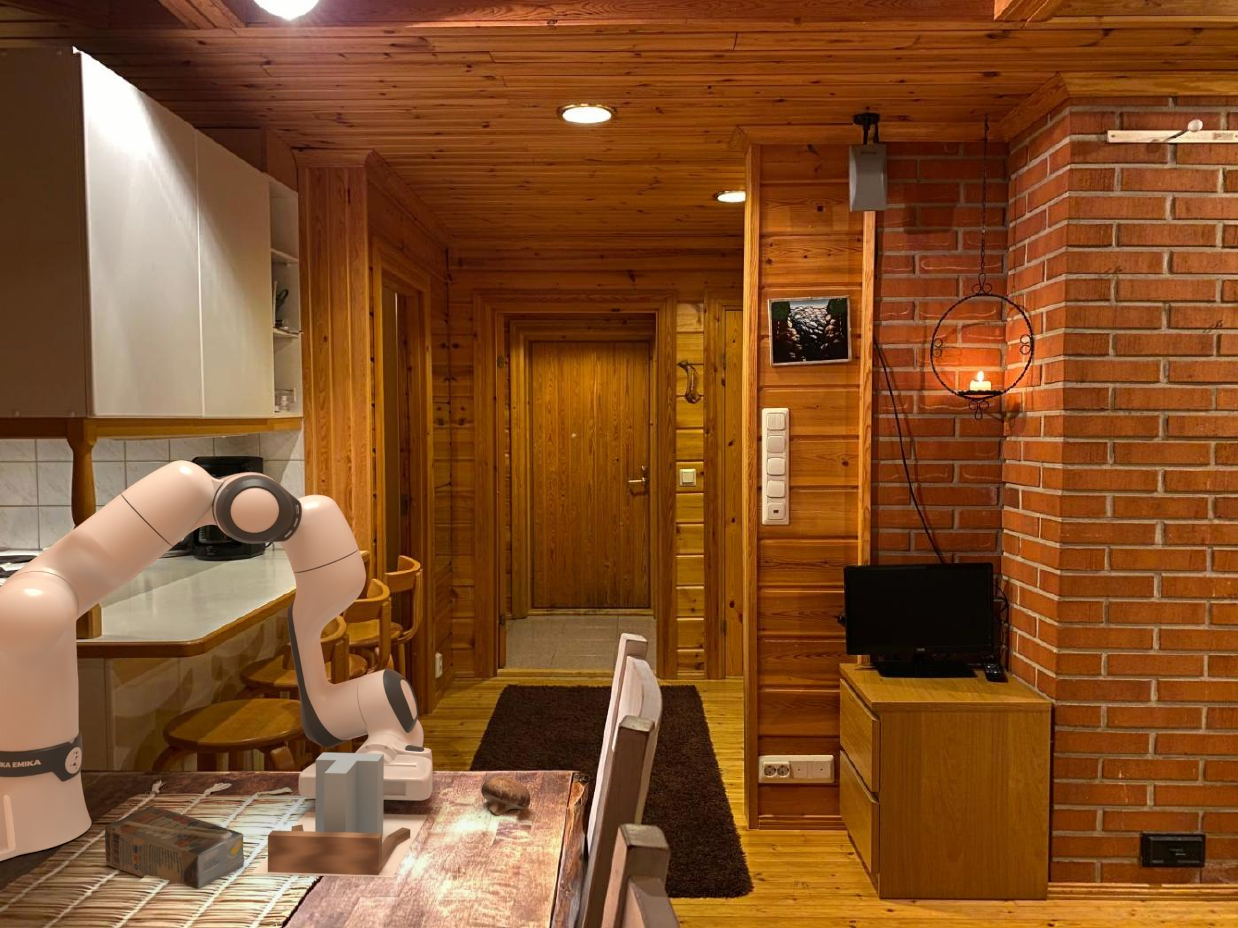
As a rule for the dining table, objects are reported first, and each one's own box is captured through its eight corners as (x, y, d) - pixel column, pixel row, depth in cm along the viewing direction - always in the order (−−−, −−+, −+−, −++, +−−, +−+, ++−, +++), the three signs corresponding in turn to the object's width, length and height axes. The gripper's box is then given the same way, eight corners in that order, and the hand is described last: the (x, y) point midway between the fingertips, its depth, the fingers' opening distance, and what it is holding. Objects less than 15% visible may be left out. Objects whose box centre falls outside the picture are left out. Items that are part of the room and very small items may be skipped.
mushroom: (487, 809, 138) (500, 768, 142) (465, 812, 144) (478, 773, 148) (531, 826, 141) (543, 786, 145) (508, 828, 147) (519, 790, 151)
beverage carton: (197, 899, 117) (197, 850, 117) (101, 868, 125) (101, 821, 125) (246, 873, 124) (246, 827, 124) (152, 845, 132) (152, 801, 132)
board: (251, 880, 122) (251, 873, 122) (306, 818, 142) (306, 811, 142) (392, 884, 121) (392, 877, 121) (427, 821, 141) (428, 814, 141)
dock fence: (258, 871, 122) (258, 834, 122) (293, 832, 134) (293, 798, 134) (388, 875, 122) (388, 838, 122) (411, 835, 134) (411, 801, 134)
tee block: (302, 857, 126) (302, 772, 126) (322, 832, 134) (322, 752, 134) (366, 859, 126) (367, 773, 126) (383, 834, 134) (383, 753, 134)
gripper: (315, 745, 148) (282, 777, 134) (441, 748, 148) (420, 781, 134) (315, 784, 148) (282, 819, 135) (440, 787, 148) (419, 823, 134)
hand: (352, 800), depth 134 cm, fingers closed
